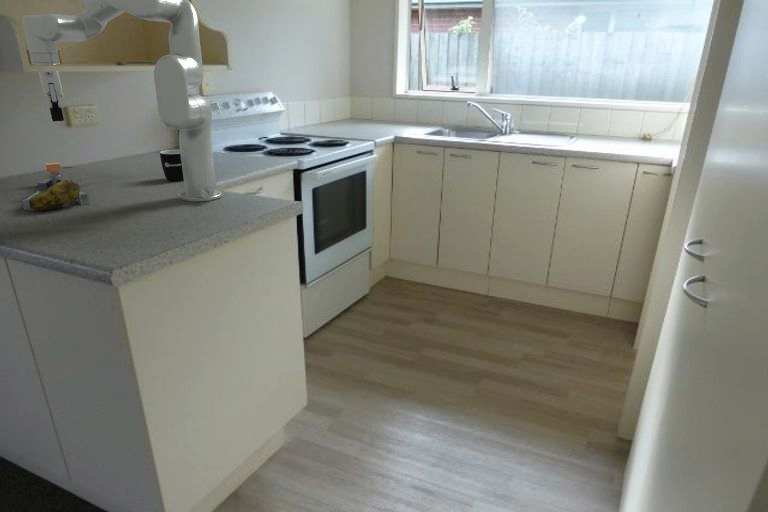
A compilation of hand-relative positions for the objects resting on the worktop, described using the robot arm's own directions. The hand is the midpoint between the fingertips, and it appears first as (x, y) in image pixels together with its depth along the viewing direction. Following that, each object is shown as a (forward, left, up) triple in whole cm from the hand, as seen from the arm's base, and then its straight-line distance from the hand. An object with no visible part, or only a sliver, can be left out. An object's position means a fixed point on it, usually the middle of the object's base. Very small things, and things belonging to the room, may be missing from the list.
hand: (58, 120), depth 167 cm
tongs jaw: (-13, +1, -22) cm, 26 cm away
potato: (-25, +5, -22) cm, 34 cm away
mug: (-3, -34, -22) cm, 41 cm away
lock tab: (+8, +4, -17) cm, 19 cm away
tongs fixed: (-7, +8, -22) cm, 24 cm away
